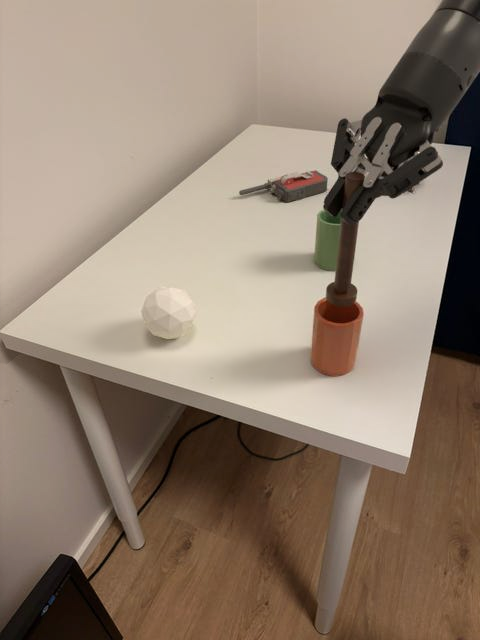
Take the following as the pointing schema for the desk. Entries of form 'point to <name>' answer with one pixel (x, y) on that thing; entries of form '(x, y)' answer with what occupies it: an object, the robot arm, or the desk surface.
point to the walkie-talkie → (293, 185)
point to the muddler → (346, 250)
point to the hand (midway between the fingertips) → (337, 216)
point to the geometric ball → (168, 312)
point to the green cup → (327, 240)
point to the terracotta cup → (335, 337)
